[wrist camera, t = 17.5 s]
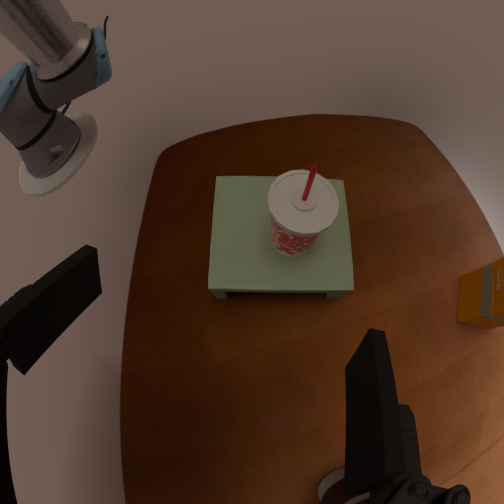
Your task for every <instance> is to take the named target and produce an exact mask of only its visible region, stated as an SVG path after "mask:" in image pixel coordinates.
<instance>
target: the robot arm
mask: <svg viewBox="0 0 504 504" xmlns="http://www.w3.org/2000/svg"><path fill="white" fill-rule="evenodd" d="M107 19H108V16H106V19H105V21H104V34H103V30H102V28H101V27H96V28H92V29H91V30H90V29H89V27H88V26H87V25H86V24H84V23H82V22H73V20H72V19H71V17H70V15H69V14H68V12H67V11H66V9H65V8H64V6H63V4H62V3H61V1H60V0H0V33H1V34H2V35H3V36H4V37H5V38H6V39H8V40H9V41H10V42H11V43H12V44H13V45H14V46H15V47H16V48H17V49H18V50H20V51H21V52H22V53H23V54H24V55H25V56H26V57H27V58H29V59H30V60H31V63H30V65H29V66H28V63H26V62H24V61H22V62H20V63H18V64H16V65H15V66H14V67H13V68H11V69H10V70H9V71H8V72H7V73H6V74H5V75H4V77H3V78H2V79H1V80H0V131H1V133H2V134H3V135H4V136H5V137H6V138H7V139H8V140H9V141H10V142H11V143H12V144H13V145H14V146H15V147H16V148H17V149H18V151H19V153H20V155H21V157H22V159H23V161H24V164H25V166H26V169H27V170H28V172H29V173H30V174H31V175H32V176H33V177H34V178H37V179H42V178H46V177H48V176H50V175H52V174H54V173H55V172H57V171H58V170H59V169H60V168H61V167H63V166H64V165H65V164H66V162H67V161H68V160H69V159H70V158H71V156H72V155H73V154H74V152H75V150H76V149H77V147H78V144H79V142H80V138H81V130H80V128H79V126H78V125H77V123H76V122H75V121H74V120H72V119H70V118H69V117H67V116H66V115H64V113H65V112H66V110H67V109H68V107H69V105H70V103H71V101H72V100H74V99H76V98H78V97H79V96H81V95H83V94H85V93H87V92H89V91H91V90H94V89H96V88H97V87H98V86H100V85H102V84H104V83H106V82H107V81H109V79H110V78H111V76H112V69H111V64H110V59H109V55H108V50H107V46H106V42H105V40H106V22H107ZM66 103H67V104H66ZM64 104H66V106H65V108H64V109H63V111H62V112H59V111H57V109H58V108H59V107H61V106H63V105H64ZM101 293H102V289H101V281H100V274H99V264H98V254H97V249H96V248H94V247H92V246H89V245H85V246H83V247H82V248H80V249H79V250H78V251H76V252H75V253H73V254H72V255H71V256H69V257H68V258H67V259H65V260H64V261H62V262H61V263H60V264H58V265H57V266H56V267H54V268H53V269H52V270H50V271H49V272H48V273H46V274H45V275H44V276H43V277H41V278H40V279H39V280H37V281H36V282H35V283H34V284H33V285H31V284H30V285H28V286H26V287H23V288H21V289H20V290H19V291H18V292H16V293H15V294H14V296H12V297H10V298H9V299H8V301H6V302H4V303H3V304H2V305H1V306H0V504H17V501H16V496H15V492H14V486H13V481H12V475H11V468H10V461H9V452H8V441H7V420H6V395H7V373H8V363H7V362H6V361H7V360H8V359H10V360H11V362H12V364H13V366H14V367H15V368H16V369H17V370H19V371H20V372H21V373H22V374H23V375H25V374H26V373H27V371H28V370H29V369H30V368H31V367H32V366H33V365H34V363H35V362H36V361H37V360H38V359H39V358H40V356H42V354H43V353H44V352H45V351H46V350H47V349H48V348H49V347H50V346H51V345H52V344H53V342H54V341H55V340H56V339H57V338H58V337H59V336H60V335H61V334H62V333H63V332H64V331H65V330H66V329H67V327H68V326H69V325H70V324H71V323H72V322H73V321H74V320H75V319H76V318H77V317H78V316H79V315H80V314H81V313H82V312H83V311H84V310H85V309H86V308H87V307H88V306H89V305H90V304H91V303H92V302H93V301H94V300H95V299H96V298H97V297H98V296H99V295H100V294H101ZM345 379H346V449H345V471H344V486H343V495H363V494H365V493H367V492H369V491H370V496H369V498H367V499H365V500H363V501H360V502H359V503H357V504H470V492H469V490H468V488H467V487H466V486H464V485H459V484H458V485H456V486H454V487H452V488H450V489H445V488H441V487H437V486H433V485H431V482H430V481H429V479H428V478H427V477H425V476H423V475H422V472H421V464H420V454H419V446H418V439H417V431H416V429H415V428H416V424H415V418H414V415H413V413H412V411H411V409H410V407H409V405H402V404H398V398H397V392H396V386H395V380H394V375H393V369H392V364H391V359H390V354H389V350H388V345H387V340H386V336H385V332H384V331H380V330H375V329H371V328H369V330H368V332H367V334H366V335H365V337H364V339H363V340H362V342H361V344H360V345H359V347H358V349H357V350H356V352H355V353H354V355H353V357H352V358H351V360H350V361H349V363H348V364H347V366H346V367H345Z"/></svg>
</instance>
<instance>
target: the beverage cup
mask: <svg viewBox="0 0 504 504" xmlns="http://www.w3.org/2000/svg"><path fill="white" fill-rule="evenodd" d="M317 169H318V164H317V163H315V162H314V163H312V165H311V169H310V171H307V170H291V171H289V172H286V173H284V174H282V175H280V176H279V177H278V178H277V179H276V180H275V181H274V182H273V183H272V184H271V186H270V190H269V193H268V196H267V200H268V201H267V202H268V208H269V214H270V215H271V240H272V244H273V246H274V248H275V249H276V251H278V252H279V253H280V254H282V255H284V256H287V257H298V256H300V255H302V254H304V253H305V252H306V251H307V250H308V249H309V247H310V246H311V245H312V244H313V242H314V241H315V240H316V239H317V237H318V236H319V235H320V233H321V232H323V231H325V230H327V229H328V228H329V226H330V225H331V224H332V222H333V221H334V220H335V218H336V217H337V214H338V208H339V200H338V197H337V193H336V190H335V189H334V188H333V186H332V185H331V184H330V182H329V181H328V180H326V179H325V178H324V177H322V176H321V175H319V174H317V173H316V172H317Z"/></svg>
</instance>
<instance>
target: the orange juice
mask: <svg viewBox="0 0 504 504" xmlns="http://www.w3.org/2000/svg"><path fill="white" fill-rule="evenodd" d="M456 322H459V323H464V324H468V325H473V326H477V327H482V328H487V329H490V328H496V327H501V326H504V258H502V259H500V260H497V261H495V262H492V263H490V264H488V265H486V266H484V267H482V268H480V269H478V270H476V271H473V272H471V273H469V274H466V275H464V276H462V277H460V287H459V301H458V312H457V321H456Z"/></svg>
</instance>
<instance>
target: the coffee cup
mask: <svg viewBox="0 0 504 504" xmlns="http://www.w3.org/2000/svg"><path fill="white" fill-rule="evenodd" d="M344 471H345V467H342V468H339V469H337V470H334V471H333V472H331V473H329V474H328V475H327V476H326V477H325V478H324V479H323V480H322V482H321V483H320V485H319V489H318V495H319V498H320V502H321V503H320V504H357V503H359V502H360V501H363V500H365V499H367V498H369V496H370V491H369V492H367V493H365V494H363V495H343V486H344Z"/></svg>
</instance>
